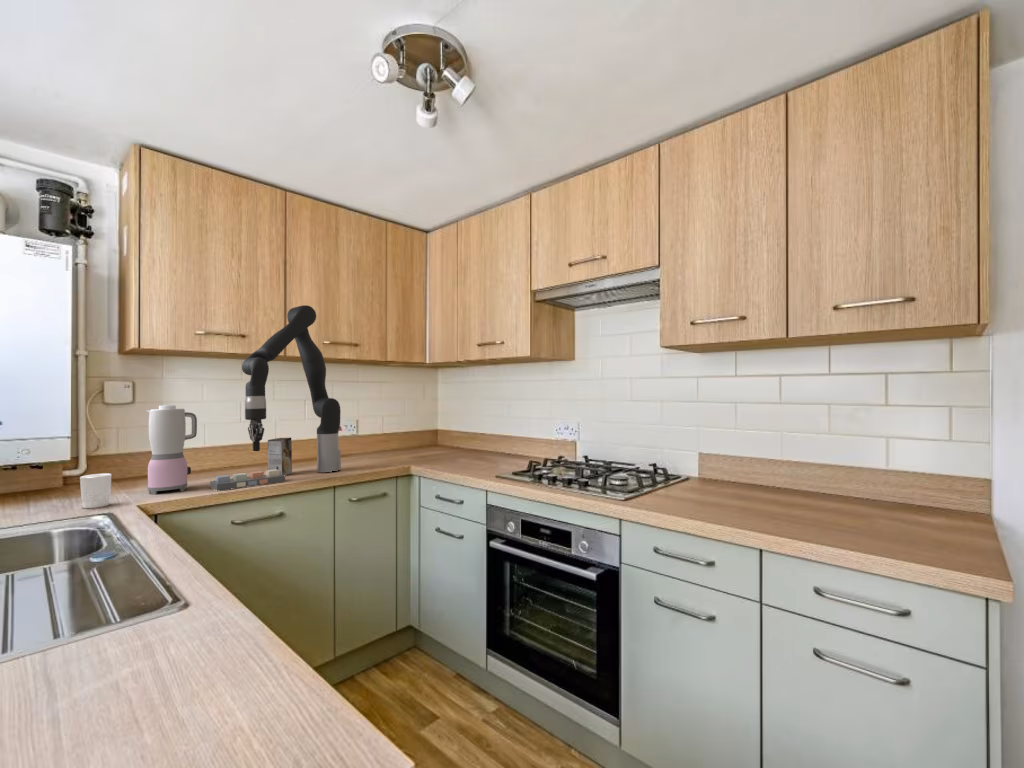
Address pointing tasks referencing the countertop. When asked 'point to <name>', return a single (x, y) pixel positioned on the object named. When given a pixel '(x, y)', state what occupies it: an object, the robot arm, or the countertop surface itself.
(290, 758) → the countertop surface
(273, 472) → the sand key
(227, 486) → the keypad
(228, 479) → the slate key
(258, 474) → the terracotta key
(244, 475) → the sage key
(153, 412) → the blender
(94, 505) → the white cup
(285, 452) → the coffee box
